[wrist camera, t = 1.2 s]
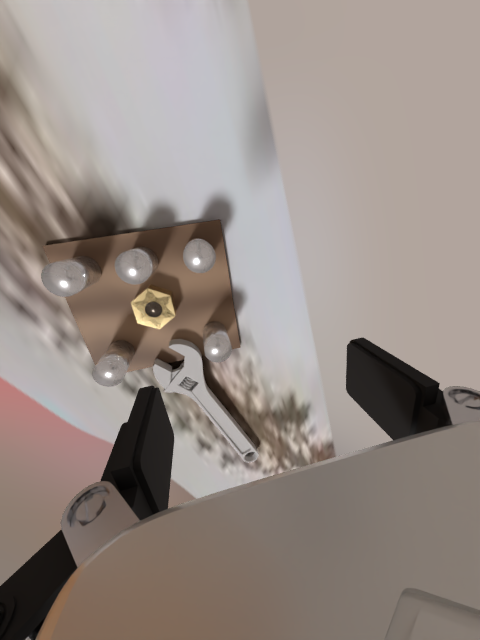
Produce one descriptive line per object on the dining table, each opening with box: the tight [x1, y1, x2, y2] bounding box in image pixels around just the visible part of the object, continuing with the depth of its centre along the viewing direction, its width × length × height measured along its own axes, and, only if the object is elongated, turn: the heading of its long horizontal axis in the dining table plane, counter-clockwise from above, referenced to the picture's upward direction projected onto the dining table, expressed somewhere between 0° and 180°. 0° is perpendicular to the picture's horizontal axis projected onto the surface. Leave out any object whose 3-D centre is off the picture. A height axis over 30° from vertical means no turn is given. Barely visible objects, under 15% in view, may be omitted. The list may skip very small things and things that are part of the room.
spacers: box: [41, 238, 232, 386], centre depth 25 cm, size 13×15×5 cm
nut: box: [131, 284, 177, 329], centre depth 26 cm, size 4×5×2 cm
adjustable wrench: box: [153, 339, 258, 463], centre depth 34 cm, size 25×6×2 cm, turn 24°
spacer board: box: [43, 220, 240, 372], centre depth 28 cm, size 16×18×1 cm
